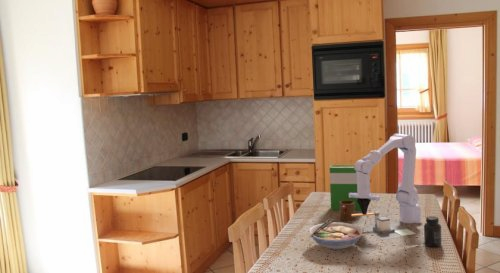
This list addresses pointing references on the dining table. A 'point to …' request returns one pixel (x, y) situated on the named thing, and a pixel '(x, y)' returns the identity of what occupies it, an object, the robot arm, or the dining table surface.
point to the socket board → (388, 231)
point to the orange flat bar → (365, 214)
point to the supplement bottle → (432, 232)
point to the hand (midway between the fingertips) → (364, 213)
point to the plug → (383, 223)
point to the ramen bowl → (335, 234)
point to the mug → (347, 210)
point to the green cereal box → (343, 185)
